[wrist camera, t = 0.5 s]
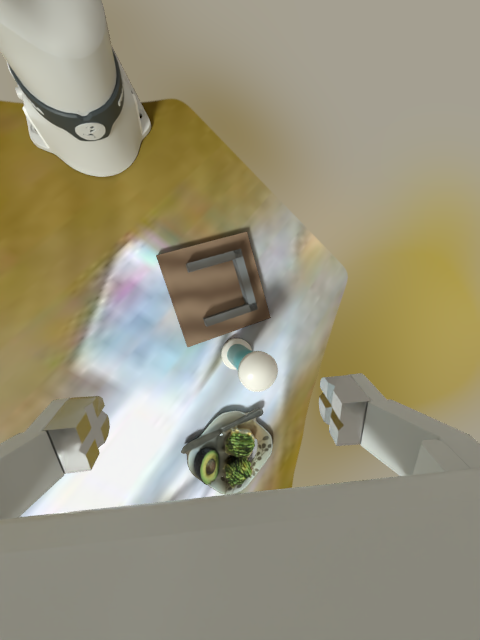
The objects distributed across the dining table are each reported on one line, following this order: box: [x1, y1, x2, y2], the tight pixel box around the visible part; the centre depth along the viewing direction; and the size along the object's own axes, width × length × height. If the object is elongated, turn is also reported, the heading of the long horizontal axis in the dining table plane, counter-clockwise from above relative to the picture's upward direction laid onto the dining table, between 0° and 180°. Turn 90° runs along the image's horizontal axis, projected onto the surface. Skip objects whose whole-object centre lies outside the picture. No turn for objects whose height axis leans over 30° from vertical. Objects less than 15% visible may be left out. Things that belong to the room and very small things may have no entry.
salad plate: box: [181, 408, 272, 495], centre depth 56 cm, size 19×18×5 cm
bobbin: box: [221, 338, 278, 392], centre depth 49 cm, size 6×6×14 cm
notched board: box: [156, 232, 271, 347], centre depth 51 cm, size 18×18×4 cm
